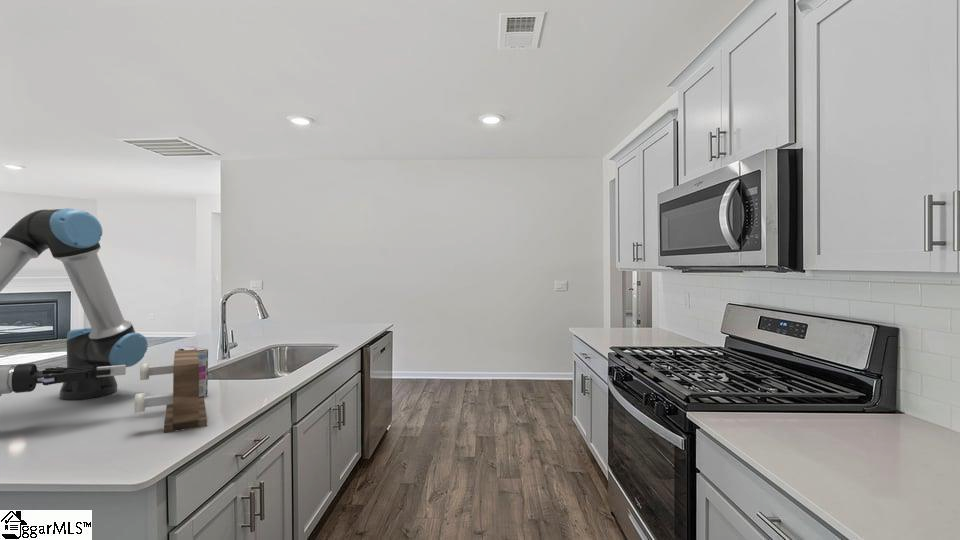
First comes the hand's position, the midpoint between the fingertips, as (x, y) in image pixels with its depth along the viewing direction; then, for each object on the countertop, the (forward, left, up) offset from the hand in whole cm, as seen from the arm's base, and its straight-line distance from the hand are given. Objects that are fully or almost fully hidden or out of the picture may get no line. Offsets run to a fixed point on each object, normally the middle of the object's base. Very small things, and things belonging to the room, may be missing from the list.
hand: (125, 369), depth 134 cm
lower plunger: (+17, +9, -9) cm, 21 cm away
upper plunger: (0, +9, -4) cm, 10 cm away
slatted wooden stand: (+9, +15, -14) cm, 22 cm away
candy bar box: (-15, +17, -14) cm, 27 cm away
